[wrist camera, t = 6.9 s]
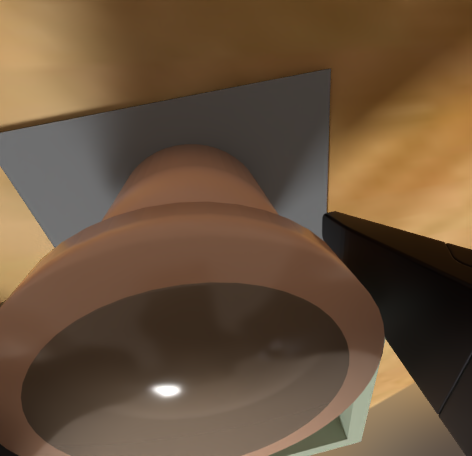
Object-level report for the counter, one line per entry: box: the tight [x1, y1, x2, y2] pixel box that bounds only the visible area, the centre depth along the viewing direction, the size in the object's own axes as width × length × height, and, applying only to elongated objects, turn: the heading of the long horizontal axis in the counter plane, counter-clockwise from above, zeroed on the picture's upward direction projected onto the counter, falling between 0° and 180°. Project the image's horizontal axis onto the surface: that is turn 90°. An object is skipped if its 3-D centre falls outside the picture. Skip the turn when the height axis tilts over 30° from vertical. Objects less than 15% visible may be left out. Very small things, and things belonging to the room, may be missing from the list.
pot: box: [0, 144, 385, 456], centre depth 8 cm, size 7×7×8 cm
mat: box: [0, 69, 331, 247], centre depth 11 cm, size 12×9×1 cm
